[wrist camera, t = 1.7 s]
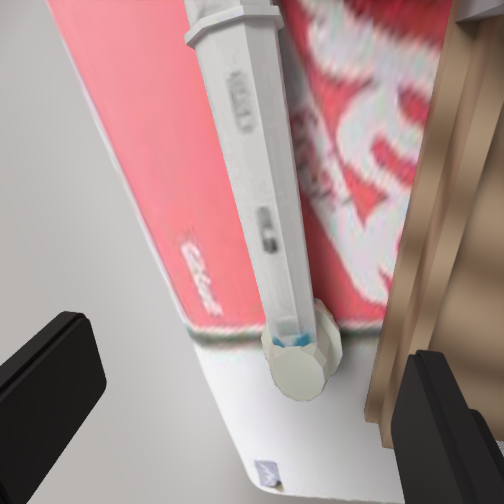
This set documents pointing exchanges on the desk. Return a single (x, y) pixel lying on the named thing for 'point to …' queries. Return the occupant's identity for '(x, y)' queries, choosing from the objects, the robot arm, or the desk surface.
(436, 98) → the fitting board
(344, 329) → the desk surface
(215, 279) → the desk surface
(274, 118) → the toothbrush head
